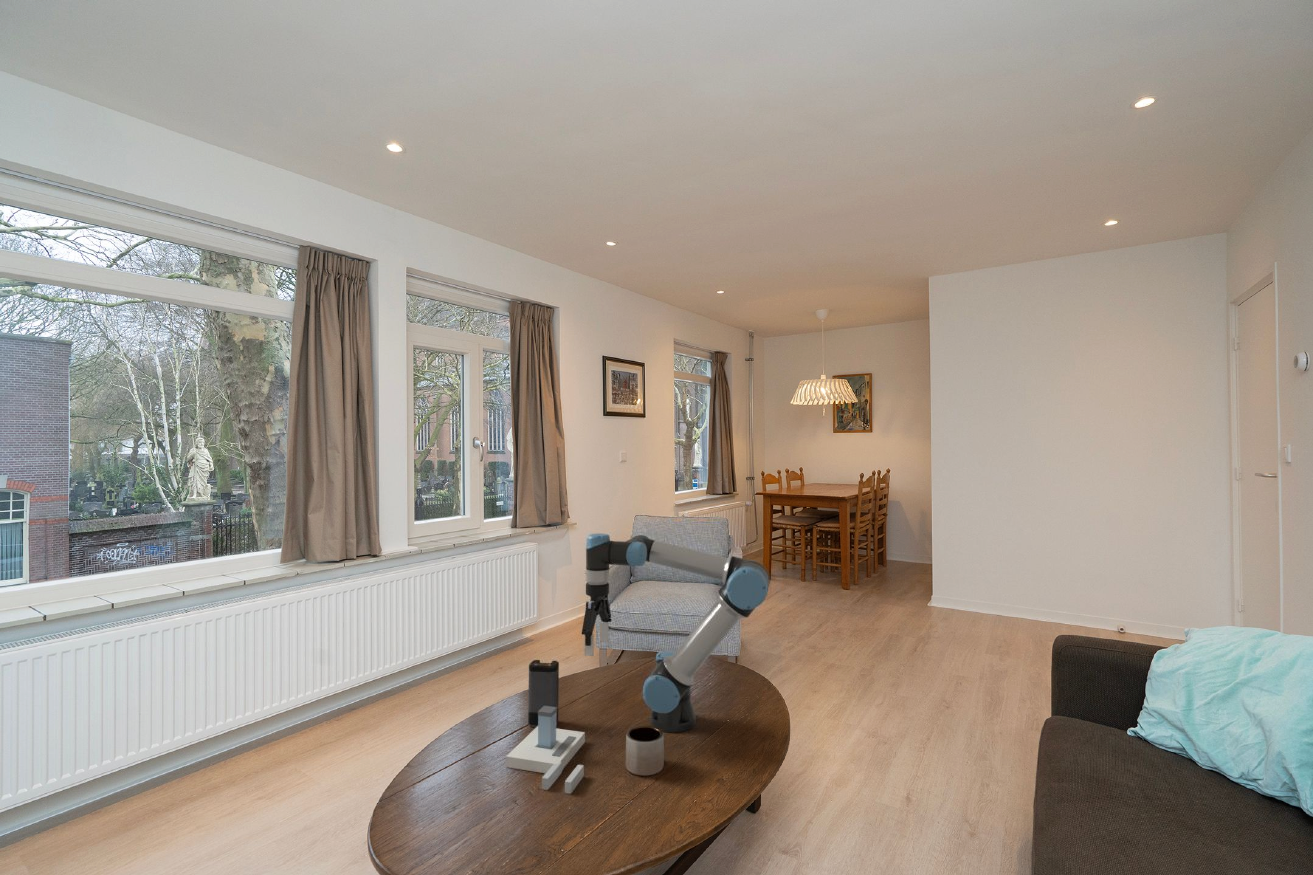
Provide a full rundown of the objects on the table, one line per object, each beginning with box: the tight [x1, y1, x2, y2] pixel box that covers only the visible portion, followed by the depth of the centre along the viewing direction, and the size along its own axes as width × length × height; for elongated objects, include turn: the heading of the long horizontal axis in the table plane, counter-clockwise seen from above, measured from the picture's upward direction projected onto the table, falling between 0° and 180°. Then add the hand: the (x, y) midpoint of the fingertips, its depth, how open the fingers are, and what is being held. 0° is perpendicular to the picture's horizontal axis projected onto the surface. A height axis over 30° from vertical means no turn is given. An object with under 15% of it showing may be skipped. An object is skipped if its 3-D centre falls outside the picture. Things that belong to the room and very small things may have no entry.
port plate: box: [505, 726, 586, 774], centre depth 180 cm, size 16×20×3 cm
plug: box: [538, 706, 557, 749], centre depth 180 cm, size 4×4×13 cm
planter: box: [625, 724, 665, 777], centre depth 173 cm, size 11×11×10 cm
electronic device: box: [527, 659, 560, 728], centre depth 200 cm, size 9×6×20 cm, turn 84°
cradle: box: [541, 762, 585, 795], centre depth 164 cm, size 8×9×3 cm
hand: (596, 648), depth 194 cm, fingers open, 13 cm apart
